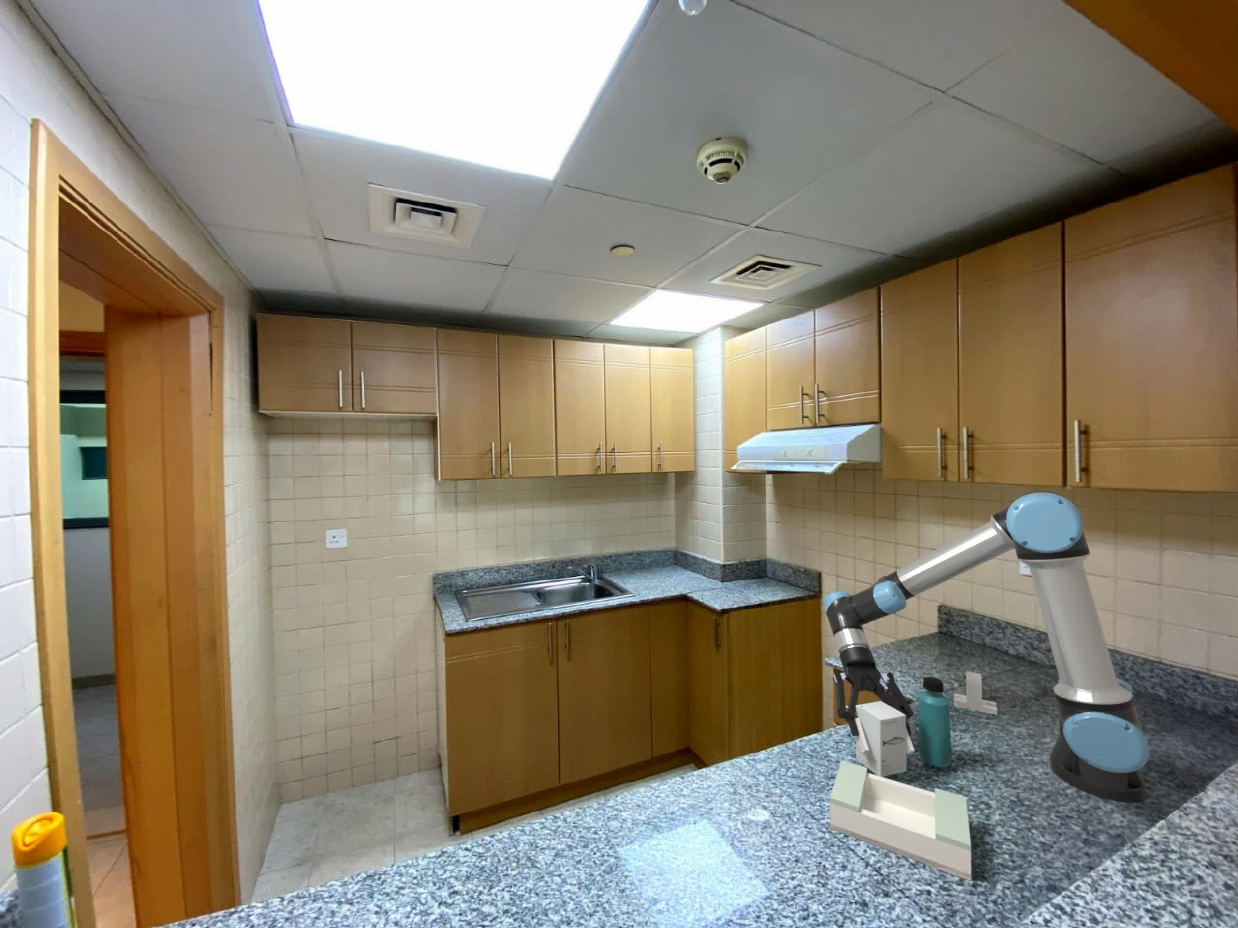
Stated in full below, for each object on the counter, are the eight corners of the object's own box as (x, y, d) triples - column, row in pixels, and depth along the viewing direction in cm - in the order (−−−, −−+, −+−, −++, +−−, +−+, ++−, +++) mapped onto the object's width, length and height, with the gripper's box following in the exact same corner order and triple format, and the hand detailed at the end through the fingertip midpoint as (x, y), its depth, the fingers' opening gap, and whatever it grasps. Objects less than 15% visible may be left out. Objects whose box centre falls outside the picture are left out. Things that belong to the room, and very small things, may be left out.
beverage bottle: (957, 775, 109) (956, 686, 109) (924, 772, 110) (923, 684, 110) (943, 758, 115) (943, 674, 115) (913, 755, 117) (912, 672, 117)
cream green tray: (966, 828, 93) (965, 796, 93) (971, 880, 81) (970, 845, 81) (841, 787, 105) (841, 760, 105) (830, 828, 93) (830, 797, 93)
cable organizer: (954, 699, 144) (953, 665, 144) (996, 708, 139) (995, 673, 139) (954, 706, 140) (953, 672, 140) (997, 716, 134) (997, 680, 134)
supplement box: (880, 778, 104) (879, 719, 105) (855, 758, 112) (854, 703, 112) (908, 772, 106) (906, 714, 107) (881, 753, 114) (880, 699, 114)
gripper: (893, 658, 124) (931, 757, 108) (807, 657, 125) (832, 756, 109) (904, 644, 119) (946, 747, 103) (814, 644, 120) (842, 746, 104)
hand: (887, 752), depth 106 cm, fingers closed on supplement box, 9 cm apart
